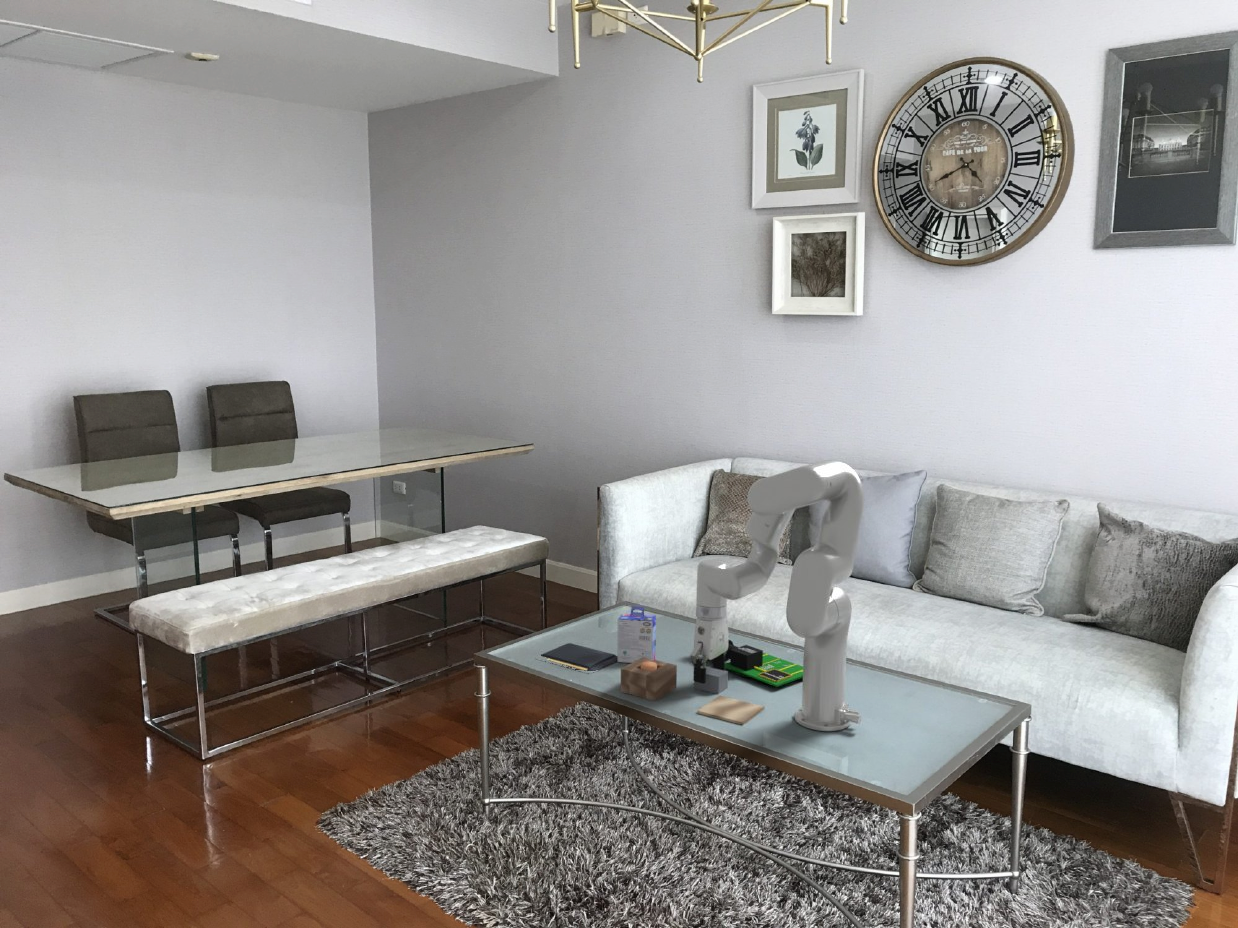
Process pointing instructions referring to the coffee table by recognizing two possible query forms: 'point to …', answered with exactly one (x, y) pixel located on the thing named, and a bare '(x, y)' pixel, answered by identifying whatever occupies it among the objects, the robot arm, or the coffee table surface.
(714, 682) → the gray rectangular block
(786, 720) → the coffee table surface
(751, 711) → the oak board
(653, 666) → the orange ball
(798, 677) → the circuit board with cylinder
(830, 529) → the robot arm
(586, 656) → the wallet
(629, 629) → the ink cartridge box
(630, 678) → the walnut housing
